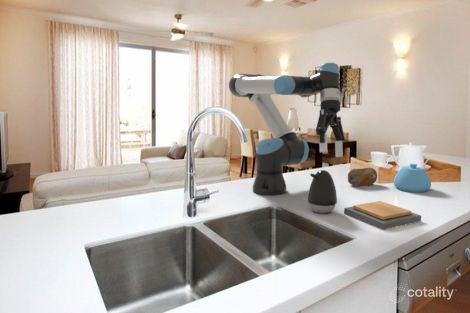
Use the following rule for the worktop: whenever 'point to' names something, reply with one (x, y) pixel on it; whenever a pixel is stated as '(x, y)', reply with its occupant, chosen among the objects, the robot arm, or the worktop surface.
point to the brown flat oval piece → (362, 176)
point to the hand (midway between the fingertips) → (331, 154)
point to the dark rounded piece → (322, 192)
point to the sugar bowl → (412, 179)
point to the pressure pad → (382, 210)
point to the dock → (379, 222)
